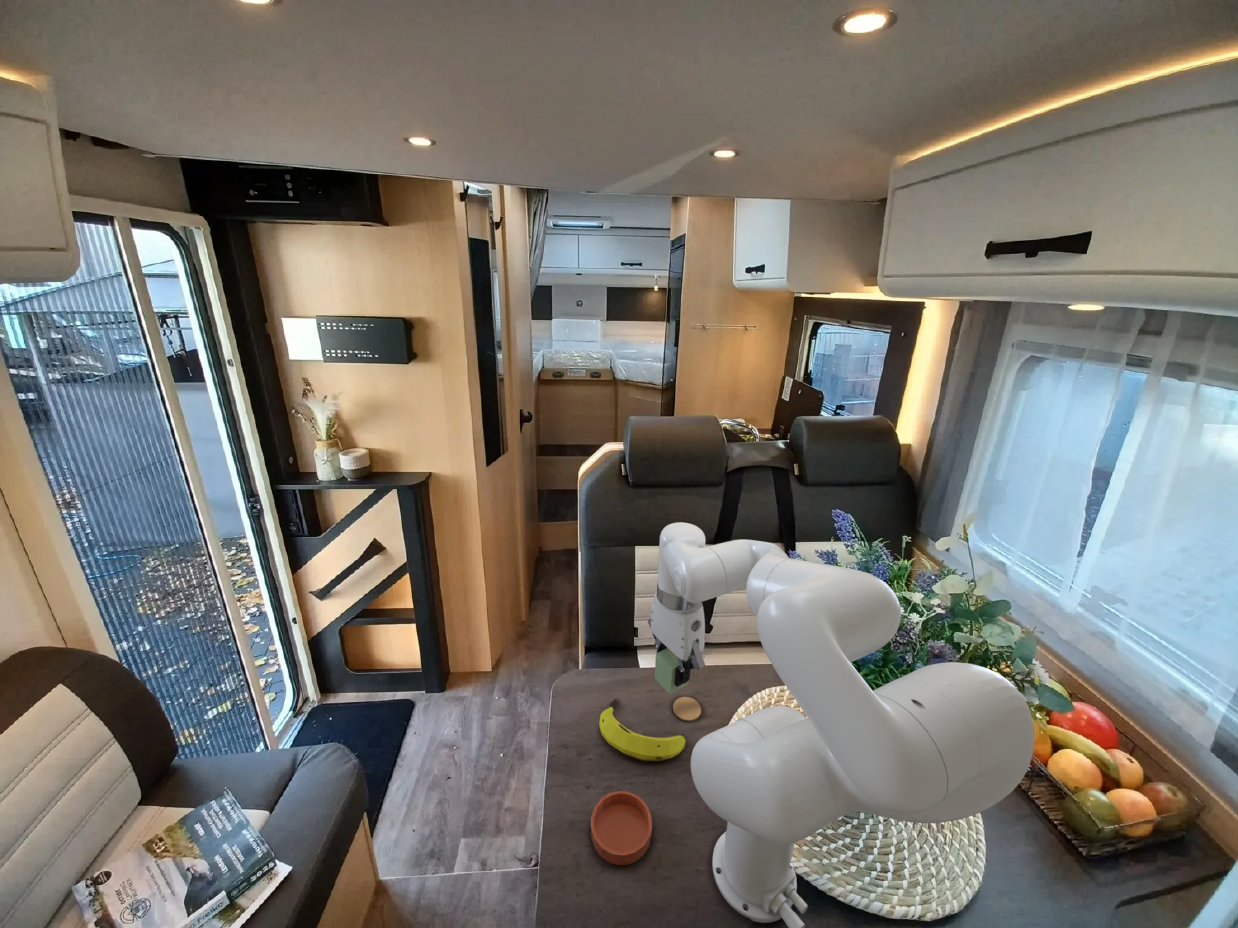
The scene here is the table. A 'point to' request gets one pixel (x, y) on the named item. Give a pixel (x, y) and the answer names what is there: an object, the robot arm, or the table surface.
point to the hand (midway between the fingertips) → (672, 672)
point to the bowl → (621, 827)
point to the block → (667, 670)
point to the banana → (638, 740)
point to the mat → (687, 709)
